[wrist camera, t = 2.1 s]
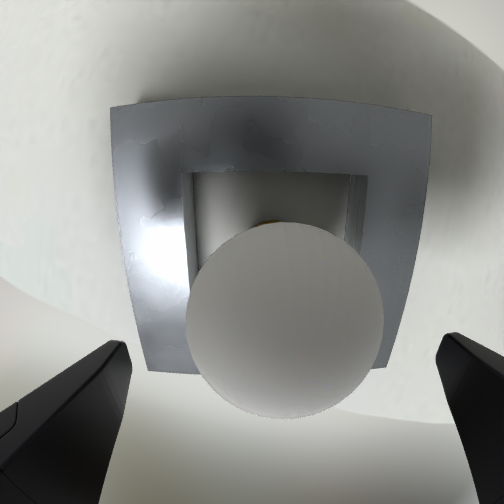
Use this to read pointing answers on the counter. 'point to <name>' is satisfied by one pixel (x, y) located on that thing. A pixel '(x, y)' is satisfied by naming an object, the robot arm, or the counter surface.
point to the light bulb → (284, 320)
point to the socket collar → (260, 159)
